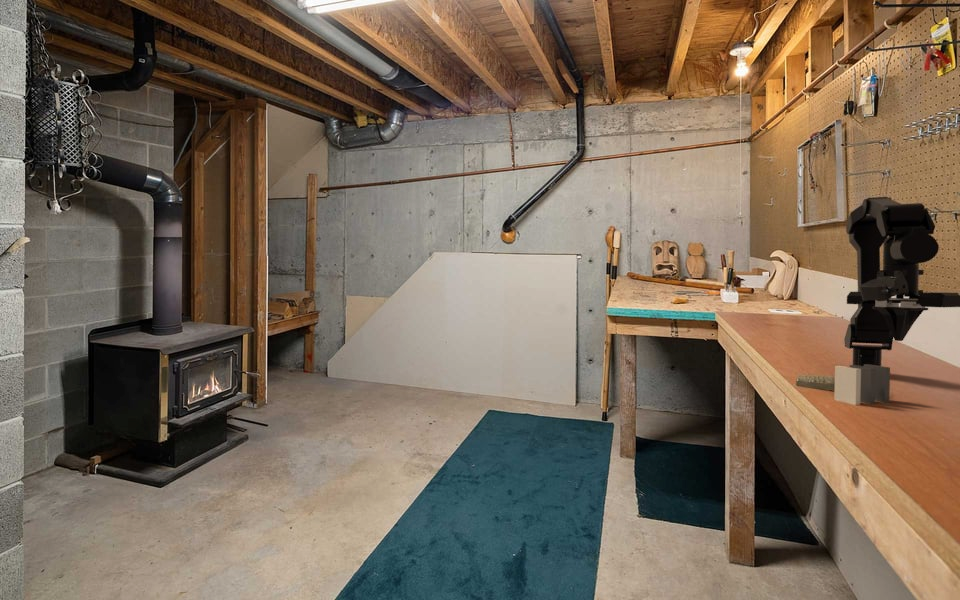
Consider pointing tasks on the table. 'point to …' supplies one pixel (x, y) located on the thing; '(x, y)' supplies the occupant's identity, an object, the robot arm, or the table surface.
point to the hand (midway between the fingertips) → (898, 340)
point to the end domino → (847, 385)
